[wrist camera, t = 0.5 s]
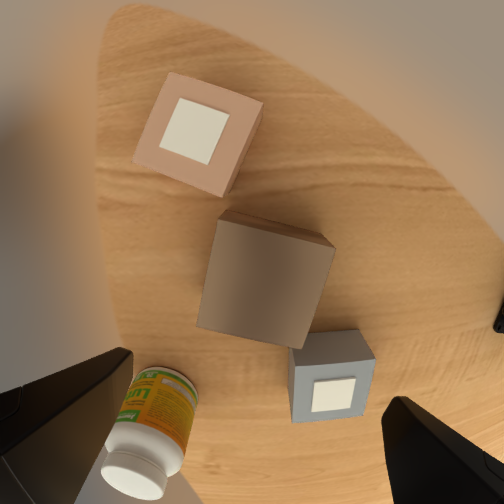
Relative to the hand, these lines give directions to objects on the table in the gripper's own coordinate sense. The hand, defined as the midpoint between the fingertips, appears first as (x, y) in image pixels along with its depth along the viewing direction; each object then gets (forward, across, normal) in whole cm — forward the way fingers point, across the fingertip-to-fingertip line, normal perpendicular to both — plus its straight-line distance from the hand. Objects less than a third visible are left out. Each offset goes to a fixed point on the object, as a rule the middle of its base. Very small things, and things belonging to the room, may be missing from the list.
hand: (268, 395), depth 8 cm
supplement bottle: (+12, +5, +12) cm, 18 cm away
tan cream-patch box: (+12, +5, -7) cm, 15 cm away
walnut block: (+12, 0, 0) cm, 12 cm away
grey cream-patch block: (+12, -6, +6) cm, 15 cm away
